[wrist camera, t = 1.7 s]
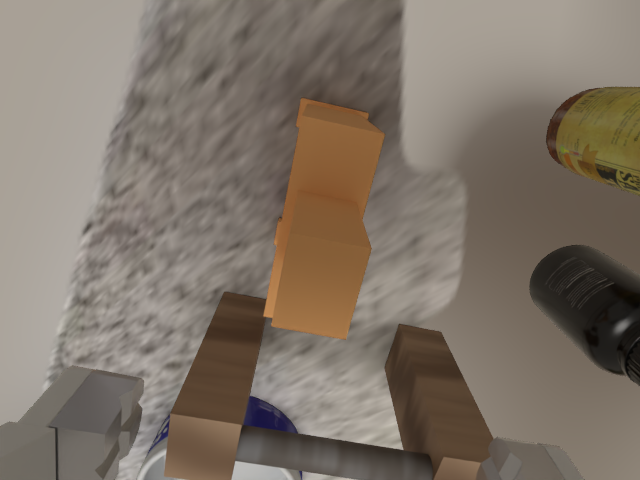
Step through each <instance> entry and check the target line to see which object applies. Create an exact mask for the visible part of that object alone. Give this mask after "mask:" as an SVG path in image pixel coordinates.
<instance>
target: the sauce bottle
mask: <svg viewBox="0 0 640 480" xmlns="http://www.w3.org/2000/svg"><path fill="white" fill-rule="evenodd" d="M546 137H547V138H546V143H547V146H548V150H549V153H550V155H551V156H552V158H553V159H555V161H557V162H558V163H559V164H561V165H562V166H564V167H565V168H567V169H569V170H570V171H571V172H573V173H575V174H578V175H581V176H584V177H587V178H590V179H592V180H595V181H598V182H601V183H604V184H607V185H610V186H613V187H616V188H619V189H621V190H624V191H627V192H631V193H633V194H636V195H638V196H640V87H605V88H595V89H589V90H586V91H582V92H580V93H579V94H576V95H575V96H573V97H570V98H569V99H568V100H566V101H565V102H564V103H563V104H562V105H561V106H560V107H559V108H558V109H557V110H556V112H555V114H554V115H553V117H552V119H551V120H550V124H549V126H548V130H547V136H546Z"/></svg>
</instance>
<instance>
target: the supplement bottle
mask: <svg viewBox="0 0 640 480" xmlns="http://www.w3.org/2000/svg"><path fill="white" fill-rule="evenodd" d="M530 294H531V297H532V299H533V302H534V303H535V304H536V306H537V307H538V308H539V309H540V310H541V311H542V312H543V313H544V314H545V315H546V316H547V317H548V318H549V319H550V320H551V321H552V322H553V323H554V324H555V325H556V326H557V327H558V328H559V329H560V330H561V331H562V332H563V333H564V334H565V335H566V336H567V337H568V338H569V339H570V340H571V341H572V342H573V343H574V344H575V345H576V346H577V347H578V348H579V349H580V350H581V351H582V352H583V353H584V354H585V356H587V357H588V358H589V359H590V360H591V361H592V362H593V363H594V364H595V365H596V366H598V367H599V368H600V369H602V370H605V371H606V372H609V373H612V374H616V375H620V376H628V377H629V378H630V379H631V380H632V381H633V382H635V383H637V384H638V385H639V386H640V275H639V274H637V273H635V272H634V271H632V270H630V269H628V268H627V267H625V266H624V265H622V264H620V263H618V262H617V261H615V260H614V259H612V258H610V257H609V256H607V255H605V254H604V253H602V252H600V251H598V250H596V249H594V248H592V247H589V246H583V245H572V246H566V247H563V248H560V249H557V250H555V251H553V252H552V253H550V254H548V255H547V256H546V257H545V258H544V259H542V260H541V261H540V263H539V264H538V265H537V266H536V268H535V270H534V271H533V274H532V276H531V280H530Z"/></svg>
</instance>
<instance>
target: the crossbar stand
mask: <svg viewBox="0 0 640 480" xmlns="http://www.w3.org/2000/svg"><path fill="white" fill-rule="evenodd" d="M265 305H266V299H261V298H255V297H250V296H245V295H239V294H234V293H228V292H224V294H223V296H222V298H221V301H220V303H219V305H218V307H217V310H216V312H215V314H214V316H213V319H212V321H211V323H210V325H209V328H208V330H207V332H206V334H205V337H204V339H203V341H202V344H201V346H200V348H199V350H198V353H197V355H196V357H195V359H194V362H193V364H192V366H191V368H190V371H189V373H188V375H187V377H186V380H185V382H184V384H183V386H182V389H181V391H180V393H179V395H178V398H177V400H176V402H175V404H174V407H173V409H172V411H171V413H170V422H169V432H168V441H167V451H166V460H165V470H164V477H171V478H178V479H185V480H231V479H232V475H233V470H234V465H235V461H238V462H245V463H252V464H258V465H265V466H271V467H278V468H285V469H291V470H298V471H305V472H311V473H318V474H324V475H331V476H338V477H344V478H351V479H358V480H476V474H477V471H478V469H479V466H480V464H481V463H482V462H483V461H485V460H486V459H488V458H489V457H490V454H489V451H488V447H489V445H490V443H491V442H492V440H494V439H493V437H492V435H491V433H490V431H489V429H488V427H487V425H486V423H485V420H484V418H483V416H482V414H481V412H480V410H479V408H478V406H477V404H476V402H475V400H474V398H473V396H472V394H471V392H470V390H469V388H468V386H467V384H466V382H465V380H464V378H463V376H462V374H461V372H460V370H459V368H458V366H457V364H456V361H455V359H454V357H453V355H452V353H451V351H450V350H449V347H448V345H447V343H446V341H445V339H444V337H443V335H442V333H441V332H439V331H434V330H428V329H423V328H418V327H412V326H407V325H401V324H399V326H398V329H397V332H396V335H395V338H394V341H393V344H392V347H391V350H390V353H389V356H388V359H387V362H386V365H385V372H386V376H387V381H388V385H389V389H390V394H391V398H392V402H393V406H394V411H395V415H396V419H397V424H398V428H399V432H400V437H401V441H402V445H403V449H404V450H399V449H393V448H386V447H380V446H374V445H367V444H361V443H355V442H348V441H342V440H336V439H329V438H323V437H317V436H311V435H304V434H298V433H292V432H285V431H279V430H273V429H266V428H260V427H254V426H247V425H243V424H244V419H245V415H246V410H247V406H248V401H249V396H250V392H251V387H252V382H253V378H254V373H255V369H256V364H257V359H258V355H259V350H260V346H261V340H262V335H263V330H264V325H265V320H266V317H264V316H263V315H264V310H265Z"/></svg>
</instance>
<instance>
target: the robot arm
mask: <svg viewBox="0 0 640 480" xmlns="http://www.w3.org/2000/svg"><path fill="white" fill-rule="evenodd" d="M143 391H144V380H143V379H142V378H138V377H133V376H128V375H123V374H118V373H112V372H107V371H102V370H97V369H96V370H93V369H88V368H83V367H78V366H73V365H72V366H71V367H69V368H67V369H65V370H64V371H63V372H62V373H61V375H60V376H59V377H58V378H57V379H56V380H55V381H54V382H53V383H52V385H51V386H50V387H49V388H48V389H47V390H46V391H45V392H44V394H43V395H42V396H41V397H40V398H39V399H38V400H37V401H36V402H35V404H34V405H33V406H32V407H31V408H30V409H29V410H28V411H27V413H26V414H25V415H24V416H23V417H22V418H21V419H20V420H19V421H18V422H17V423H15V422H7V423H5V424H3V425H1V426H0V480H115V479H116V477H117V475H118V469H119V460H121V459H122V458H124V457H125V456H127V455H128V454H129V452H130V450H131V448H132V446H133V443H134V441H135V438H136V435H137V433H138V430H139V426H140V421H141V416H142V408H141V406H140V405H139V403H138V402H139V400H140V398H141V396H142V394H143ZM488 451H489V454H490V457H489V458H488V459H486V460H485V461H483V462H482V463H481V464H480V466H479V469H478V471H477V474H476V480H585V479H584V478H583V477H582V475H581V474H580V472H579V471H578V469H577V468H576V467H575V465H574V463H573V462H572V461H571V459H570V458H569V456H568V455H567V453H566V452H565V451H564V450H563V449H561V448H560V447H559V446H553V445H546V444H540V443H537V444H536V443H532V442H524V441H519V440H512V439H506V438H500V437H497V438H495V439H494V440H492V442H491V443H490V445H489V447H488Z"/></svg>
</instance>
